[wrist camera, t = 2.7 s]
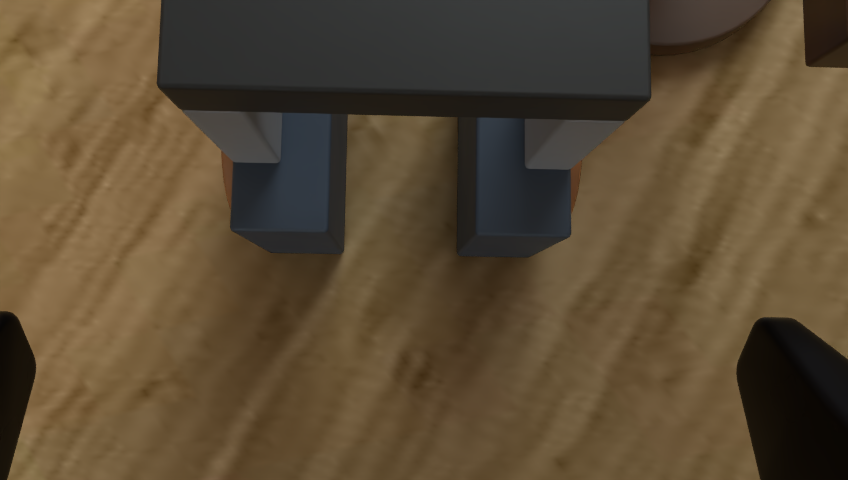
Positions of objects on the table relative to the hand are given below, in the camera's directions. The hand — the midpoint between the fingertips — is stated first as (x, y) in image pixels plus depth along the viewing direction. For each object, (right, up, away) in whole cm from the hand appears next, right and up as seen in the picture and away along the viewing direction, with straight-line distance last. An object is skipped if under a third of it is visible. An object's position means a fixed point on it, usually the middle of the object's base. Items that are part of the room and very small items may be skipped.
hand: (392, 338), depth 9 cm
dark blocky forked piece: (0, +3, +11) cm, 12 cm away
